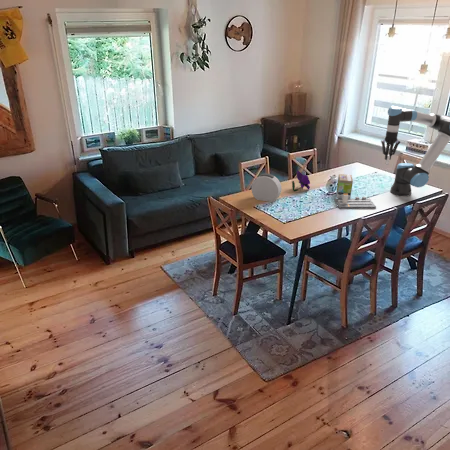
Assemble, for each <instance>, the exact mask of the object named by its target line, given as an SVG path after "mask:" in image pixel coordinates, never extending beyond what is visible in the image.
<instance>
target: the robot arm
mask: <svg viewBox="0 0 450 450" xmlns="http://www.w3.org/2000/svg"><path fill="white" fill-rule="evenodd" d="M387 115H388V120H387V126H386V133H385V136H384V137H385V138H384V139H383V140H381V141H380V143H381V145H382V146H381V147H382V154H383V155H384V160H385V163H384V164H385V165H388V166H389V165H390V161H391V160H392V156H394V155H395V154H396V152H397V149H398V147H399V145H400V143H401V141H400V140H398V135H399V131H400V130H399V129H400V123H403V122H404V123H406V122H412V123H415V124H421V125H425V126H426V127H427V128H430V129H433V130H436V131H437V136H436V138H435V139H434V140H433V142H432V144H431V145H430V147H429V148H428V150H427V151H426V152H425V154H424V155H423V157H422V158H421V159H420V161H419V162H418V164H414V163H409V162H404V163H403V162H402V163H400V162H399V163H398V164H397V166H396V171H395V175H394V176H395V177H394V181H393V184H392V185H391V187H390V190H389V191H390V193H391V194H392V195H393V194H394V195H396V196H403V197H405V196H410V195H411V194H412V187H414V188H422V187H425V185H427V183H428V182H429V178H430V176H429V174H430V170H431V168H432V167H433V166H434V164H435V162H436V161H437V159H438V158H439V157H440V155H441V154H442V152H443V151H444V149H445V148H446V147H447V145H448V144H449V142H450V115H449V116H448V115H446V114H445V115H444V114H436V113H425V112H421V111H418V110H416V109H408V108H404V107H400V106H396V105H391V106H390V107H389V108H388V109H387ZM385 143H386V144H385Z"/></svg>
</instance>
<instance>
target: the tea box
mask: <svg viewBox="0 0 450 450" xmlns="http://www.w3.org/2000/svg"><path fill="white" fill-rule="evenodd" d="M353 183H354V181H353V176H352V174H345V173H344V174H341V173H340V174H338V179H337V185H336V199H343V194H348V199H351V196H352V192H353V190H352V189H353Z"/></svg>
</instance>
